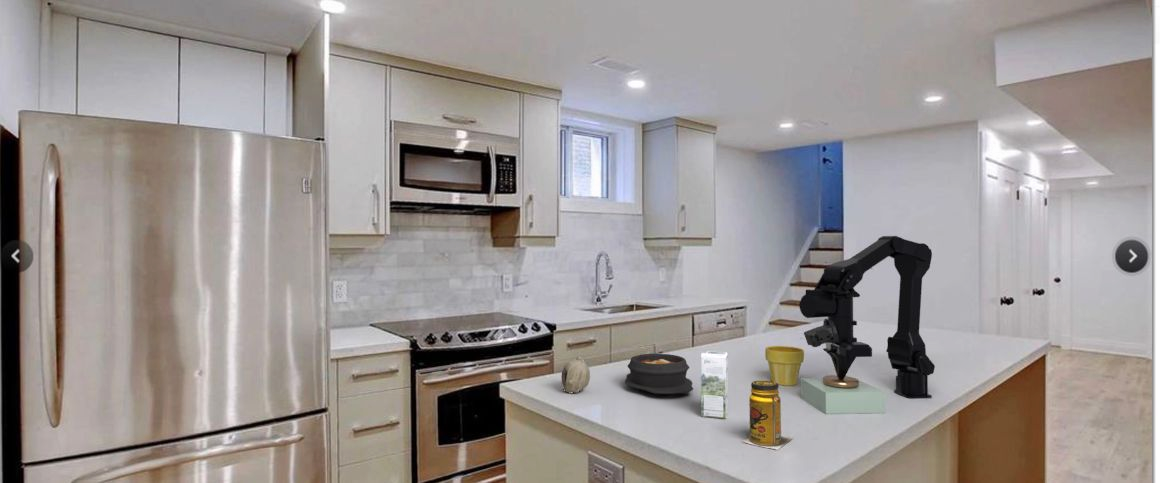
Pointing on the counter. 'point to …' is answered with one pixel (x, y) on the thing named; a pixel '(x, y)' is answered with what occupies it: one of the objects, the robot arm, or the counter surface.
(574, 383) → the garlic bulb
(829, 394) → the base
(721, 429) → the counter surface
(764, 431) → the condiment
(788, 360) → the plant pot
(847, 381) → the copper round dome
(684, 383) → the casserole
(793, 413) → the counter surface
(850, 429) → the counter surface
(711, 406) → the syrup box
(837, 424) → the counter surface
